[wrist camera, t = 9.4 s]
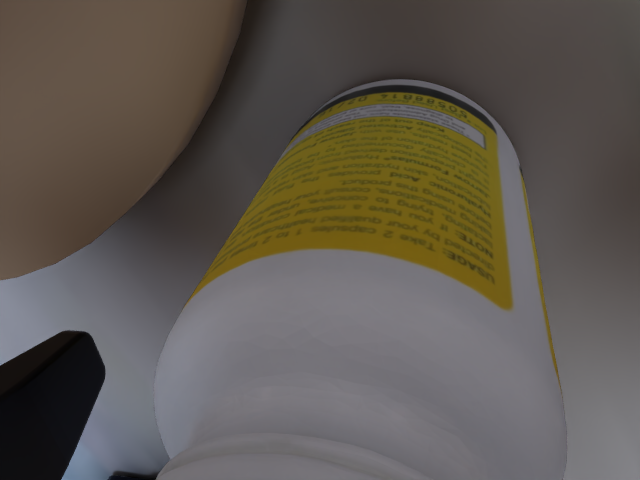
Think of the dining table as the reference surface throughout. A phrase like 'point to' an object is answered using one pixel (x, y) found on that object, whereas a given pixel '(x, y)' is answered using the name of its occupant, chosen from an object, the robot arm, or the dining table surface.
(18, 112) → the turntable
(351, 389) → the supplement bottle
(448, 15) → the dining table surface
